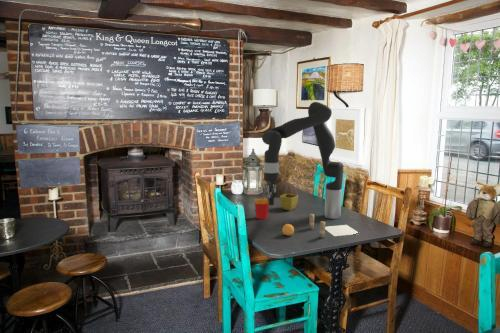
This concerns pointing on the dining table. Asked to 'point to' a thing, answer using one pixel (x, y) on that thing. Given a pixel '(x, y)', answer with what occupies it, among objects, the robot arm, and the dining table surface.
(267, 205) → the french fries
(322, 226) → the right post
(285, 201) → the flower pot
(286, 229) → the ball
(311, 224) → the left post
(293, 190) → the decorative dome
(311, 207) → the dining table surface
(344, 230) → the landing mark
